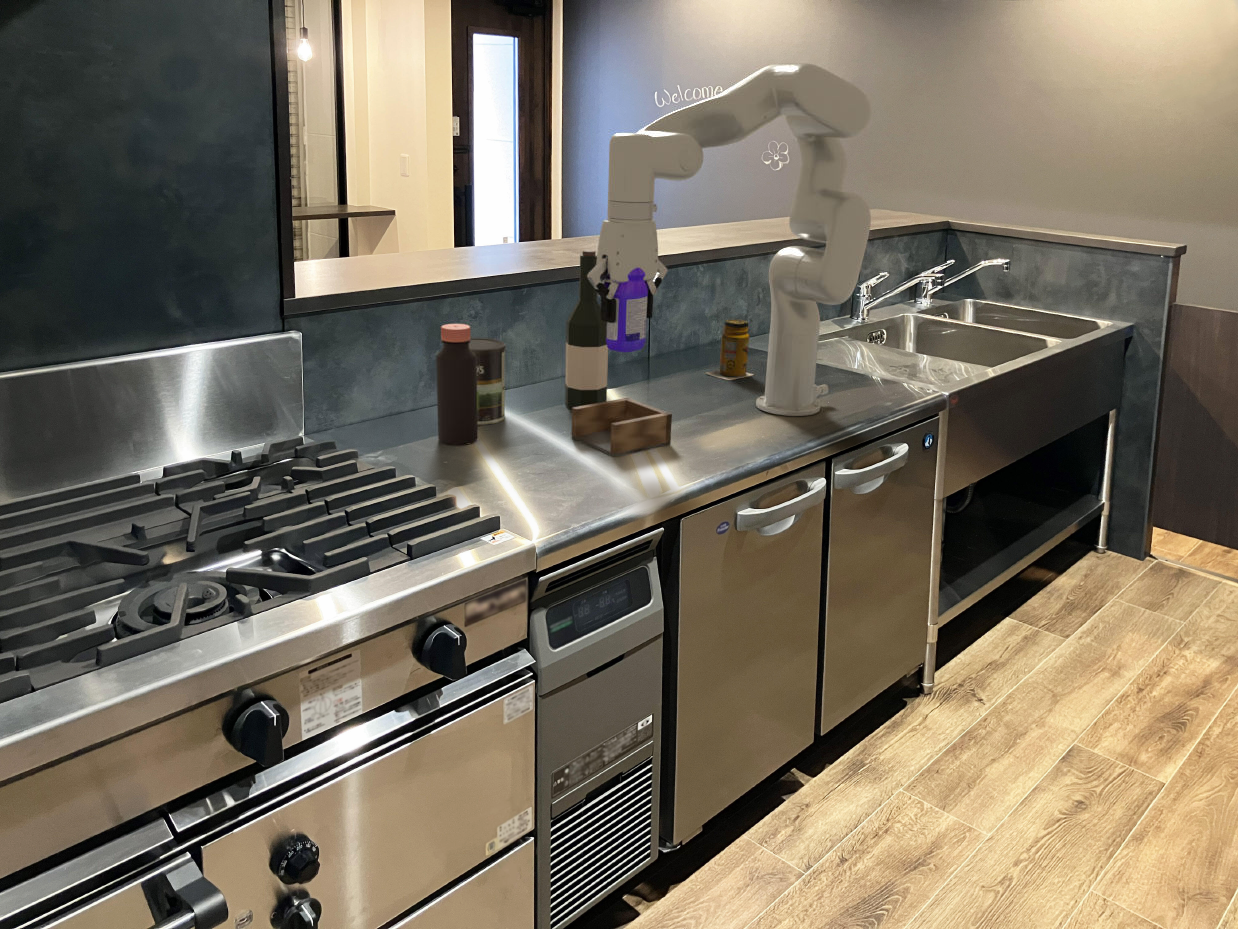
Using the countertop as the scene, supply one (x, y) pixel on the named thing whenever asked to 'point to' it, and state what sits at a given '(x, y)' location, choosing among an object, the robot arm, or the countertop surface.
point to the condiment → (733, 351)
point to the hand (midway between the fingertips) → (626, 318)
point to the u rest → (621, 426)
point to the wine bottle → (586, 344)
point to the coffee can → (490, 379)
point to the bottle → (629, 314)
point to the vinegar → (456, 387)
